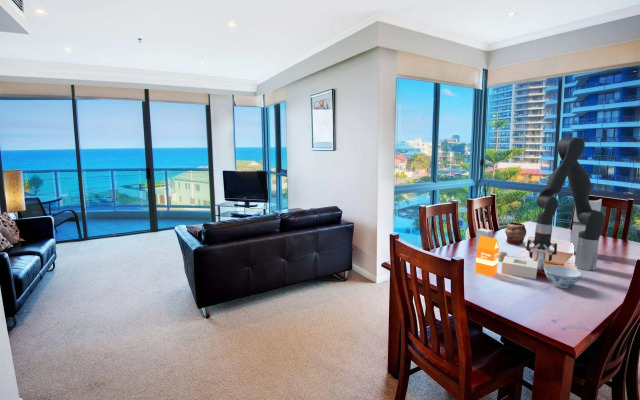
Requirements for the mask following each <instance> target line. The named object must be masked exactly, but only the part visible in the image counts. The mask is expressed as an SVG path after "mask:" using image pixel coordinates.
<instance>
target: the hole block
mask: <svg viewBox="0 0 640 400" xmlns="http://www.w3.org/2000/svg"><path fill="white" fill-rule="evenodd" d="M501 263H502V264H501V271H500V272H501V274H506V275H510V276H511V275H512V276H517V277H521V278H527V279H533V280H536V279H537V273H538V270H537V266H538V261H536V260H531V259H525V258H518V257H513V256H505V257H504V260H503V262H501Z"/></svg>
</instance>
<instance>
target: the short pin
mask: <svg viewBox="0 0 640 400" xmlns="http://www.w3.org/2000/svg"><path fill="white" fill-rule="evenodd" d="M507 254H508V253H507V252H505V251H499V255H498V262H500V263H502V262H503V260H504V257H505V256H507Z"/></svg>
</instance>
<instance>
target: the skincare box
mask: <svg viewBox="0 0 640 400" xmlns="http://www.w3.org/2000/svg"><path fill="white" fill-rule="evenodd" d="M475 235H476V238H475V239H476V240H475V241H476V242H475V252H477V246H478V243H479V240H480V237H481V236H484V237H489V238H494V230H492V229H487V228H482V227H481V228H478V229H476V234H475Z"/></svg>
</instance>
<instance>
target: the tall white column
mask: <svg viewBox="0 0 640 400" xmlns="http://www.w3.org/2000/svg"><path fill="white" fill-rule="evenodd" d="M602 201H603V199H602V198H599V199H597V200H589V203H590V206H591V209H592V210H596V211H599V212H601V208H602ZM585 228H586V225H584V224H582V223H580V222H579V221H578V218H577V214H576V207H575V206H574V212H573V220H572V229H571V235H570V243H573V245H574V255H573V256H576V250H577V242H578V235H579V232H580V231H585Z"/></svg>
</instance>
